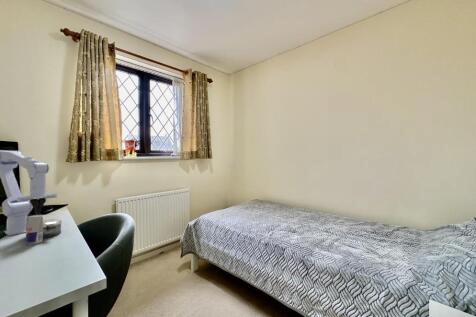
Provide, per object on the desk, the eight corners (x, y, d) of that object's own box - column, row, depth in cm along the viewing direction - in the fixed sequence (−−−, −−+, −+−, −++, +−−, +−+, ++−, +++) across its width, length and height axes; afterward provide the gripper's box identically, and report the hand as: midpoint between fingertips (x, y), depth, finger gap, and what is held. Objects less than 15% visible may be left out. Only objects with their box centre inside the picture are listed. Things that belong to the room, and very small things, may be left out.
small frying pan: (21, 225, 106) (21, 223, 106) (55, 219, 117) (55, 217, 117) (33, 232, 96) (33, 230, 96) (70, 225, 107) (70, 223, 107)
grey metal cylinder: (22, 236, 105) (22, 226, 106) (55, 229, 116) (55, 220, 116) (30, 241, 98) (30, 230, 98) (65, 233, 109) (65, 224, 109)
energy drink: (23, 244, 96) (24, 216, 96) (39, 240, 101) (39, 214, 101) (29, 246, 93) (29, 218, 94) (44, 242, 98) (45, 215, 98)
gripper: (20, 188, 100) (19, 218, 99) (59, 185, 112) (58, 212, 111) (15, 187, 103) (15, 216, 103) (54, 185, 116) (53, 210, 115)
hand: (37, 214), depth 107 cm, fingers closed
